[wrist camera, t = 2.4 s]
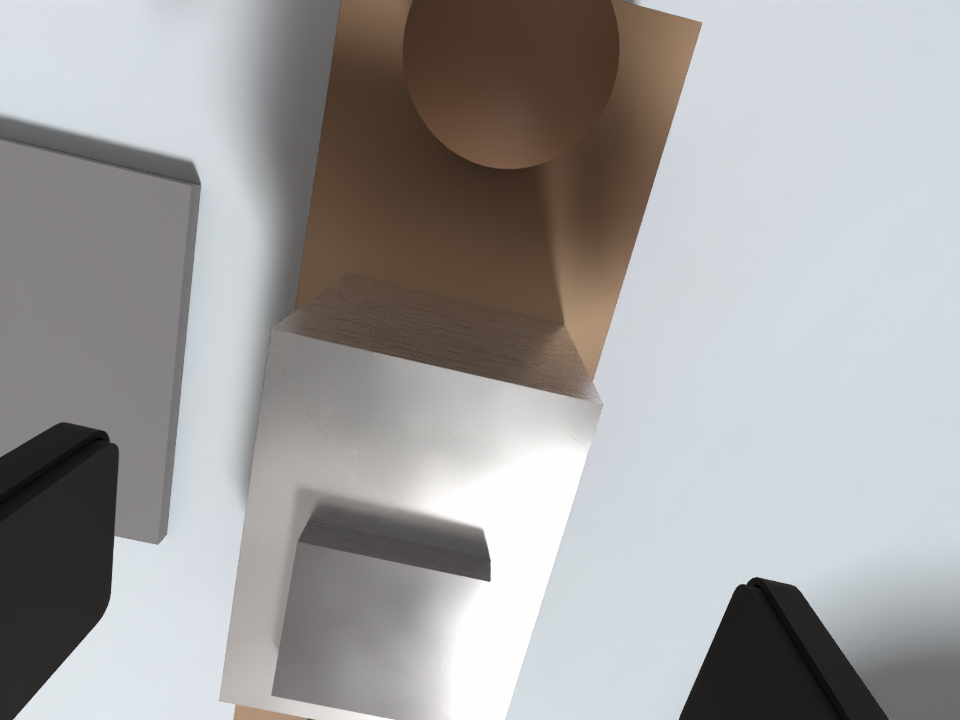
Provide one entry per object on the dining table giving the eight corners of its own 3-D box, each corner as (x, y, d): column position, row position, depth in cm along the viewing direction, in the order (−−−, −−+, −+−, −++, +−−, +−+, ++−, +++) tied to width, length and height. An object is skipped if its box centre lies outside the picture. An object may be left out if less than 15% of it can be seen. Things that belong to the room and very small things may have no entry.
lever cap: (491, 580, 16) (493, 785, 11) (300, 540, 16) (204, 730, 10) (564, 324, 14) (610, 419, 9) (346, 272, 14) (255, 339, 8)
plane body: (476, 646, 23) (468, 936, 14) (287, 607, 22) (161, 880, 14) (642, 63, 17) (799, -44, 8) (391, -2, 17) (286, -183, 8)
